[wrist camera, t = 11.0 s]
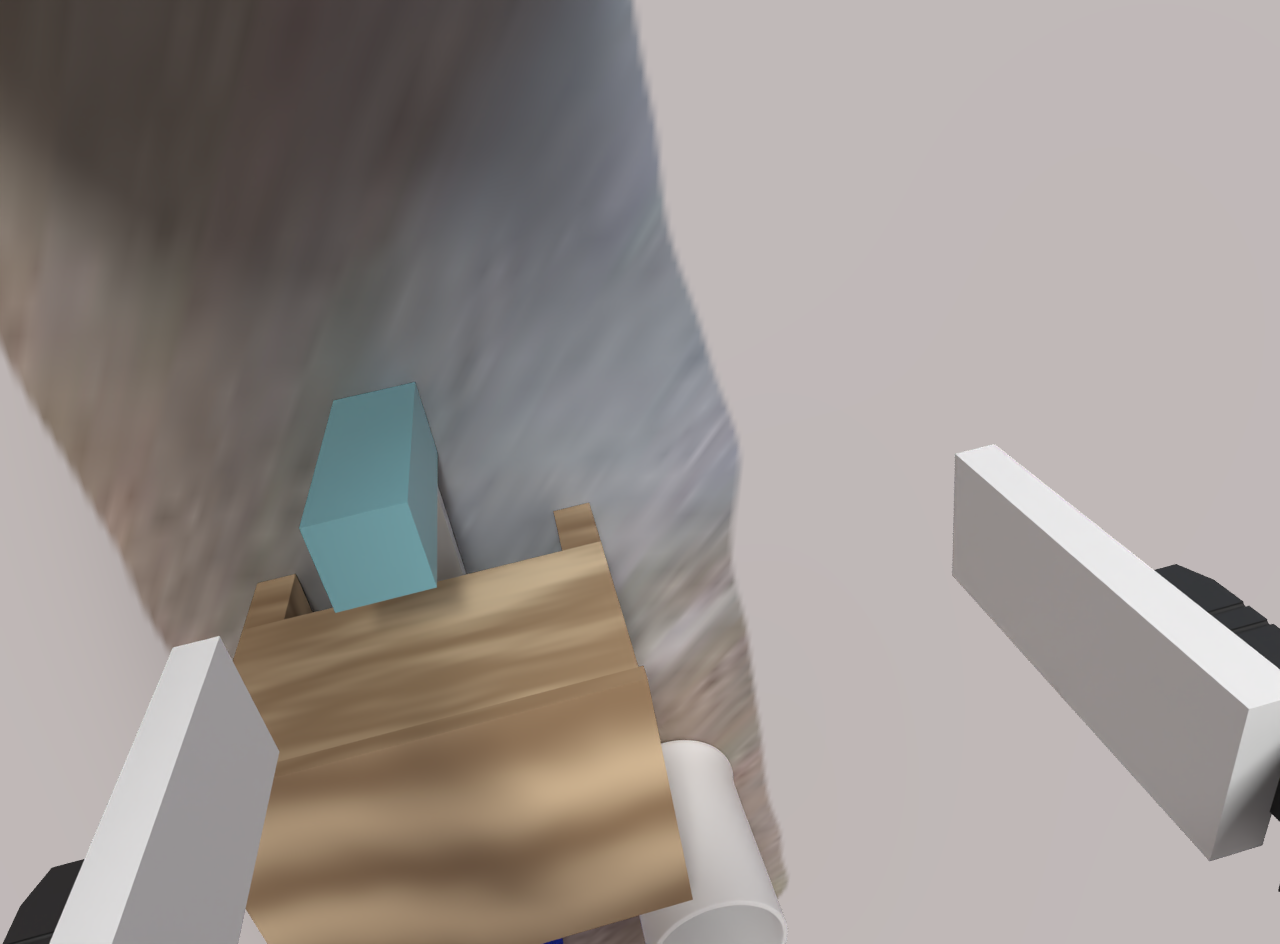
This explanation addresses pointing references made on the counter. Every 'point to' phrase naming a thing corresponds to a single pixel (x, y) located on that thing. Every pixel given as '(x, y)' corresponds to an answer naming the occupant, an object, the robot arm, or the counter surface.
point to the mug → (714, 859)
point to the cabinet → (460, 760)
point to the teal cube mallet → (378, 502)
